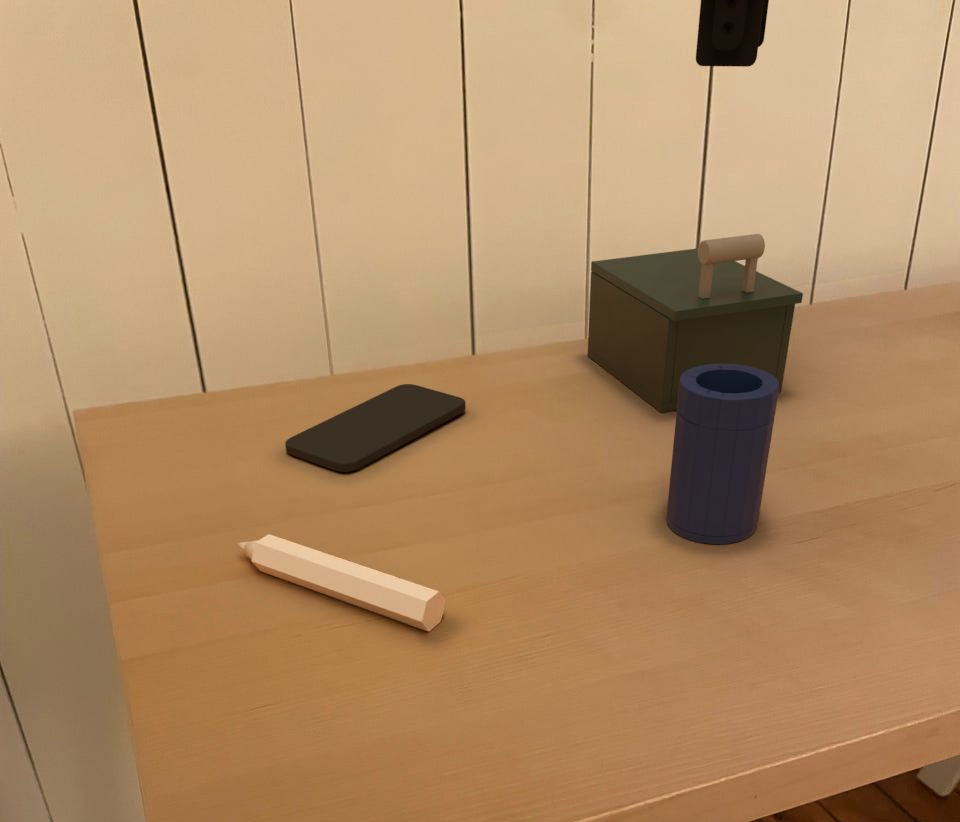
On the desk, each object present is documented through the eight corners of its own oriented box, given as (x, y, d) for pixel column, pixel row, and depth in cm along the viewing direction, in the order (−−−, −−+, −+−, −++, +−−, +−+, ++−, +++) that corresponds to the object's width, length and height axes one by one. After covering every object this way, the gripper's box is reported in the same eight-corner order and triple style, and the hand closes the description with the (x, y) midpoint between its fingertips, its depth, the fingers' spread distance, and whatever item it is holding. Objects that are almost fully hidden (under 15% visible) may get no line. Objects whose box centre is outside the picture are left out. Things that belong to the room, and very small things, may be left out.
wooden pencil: (239, 563, 67) (438, 631, 60) (216, 562, 65) (419, 632, 58) (247, 525, 66) (449, 588, 59) (224, 522, 65) (430, 587, 57)
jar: (709, 493, 72) (726, 356, 66) (775, 526, 68) (799, 383, 62) (648, 518, 69) (660, 378, 63) (712, 554, 65) (731, 407, 59)
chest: (781, 392, 87) (795, 301, 82) (661, 413, 84) (669, 319, 79) (696, 339, 98) (704, 256, 94) (587, 356, 95) (590, 271, 90)
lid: (801, 303, 82) (812, 235, 79) (674, 321, 79) (680, 252, 76) (704, 256, 93) (711, 196, 90) (590, 270, 90) (593, 209, 87)
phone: (277, 442, 78) (404, 381, 88) (279, 452, 79) (405, 390, 88) (346, 466, 75) (471, 400, 84) (348, 477, 75) (472, 409, 85)
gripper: (864, -406, 41) (796, 75, 51) (852, -327, 54) (799, 41, 64) (677, -389, 43) (646, 73, 52) (710, -316, 56) (681, 40, 66)
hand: (731, 55), depth 58 cm, fingers open, 9 cm apart
